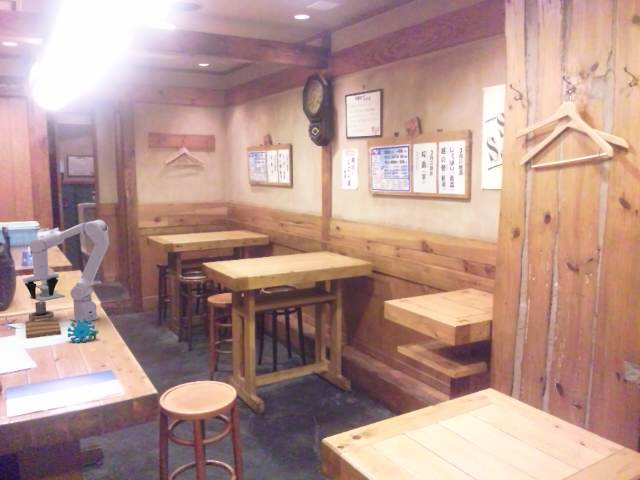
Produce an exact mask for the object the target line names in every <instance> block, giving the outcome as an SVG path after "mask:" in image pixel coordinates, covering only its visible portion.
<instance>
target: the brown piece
mask: <svg viewBox="0 0 640 480" xmlns="http://www.w3.org/2000/svg"><path fill="white" fill-rule="evenodd" d="M54 314H55V313H54V311H51V310H46V315H45V316H36V311H35V312H31V313H29V314H28V320H27V321H25V335H26V337H25V338H26V339H30V338H31V339H32V338H33V339H34V338H40V336H41V337H47V336H46V335H49V336H55V335H54V334H56V335H61V334H62V330H61V326H60V323H59V322H60V321H59V319H58V317H54Z"/></svg>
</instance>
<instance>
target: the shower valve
mask: <svg viewBox="0 0 640 480" xmlns="http://www.w3.org/2000/svg"><path fill="white" fill-rule="evenodd" d="M37 288H38V289H40V291H41V294H36V299H34V300H36V301H38V302H42V301H44V302H46V301H51V300H54V299H55V300H56V299H61V298H64V297H66V295H65V294H62V293H61V294H60V293H57V292H54V293H53V296H51V295H49V289H48V286H42V285H39V284H38V285H36V289H37ZM29 299H32V298H31V295H30V296H29Z"/></svg>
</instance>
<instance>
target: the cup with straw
mask: <svg viewBox="0 0 640 480" xmlns="http://www.w3.org/2000/svg"><path fill="white" fill-rule="evenodd" d="M48 272H49V274H55V273H56V272H55V271H54V270H53V268H51V267H50V266H48ZM40 284H41V285H42V286H48V283H47V280H42V281H40Z"/></svg>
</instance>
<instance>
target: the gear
mask: <svg viewBox="0 0 640 480" xmlns="http://www.w3.org/2000/svg"><path fill="white" fill-rule="evenodd" d="M71 327H72V328H73V329H72V328H71ZM91 328H92V329H91ZM93 329H94V330H93ZM95 329H96V325H95V324H93V322H92V321H88V322H87V320H86V319H83V322H82V323H81V322H80V320H77V321H76V325H75V322H71V323H70V327H68V329H67V332H68V333H67V337H68V338H70V341H71V342H74V341H75V343H77V342H78V343H77V344H80V343H81V340H82V343H87V342H88V341H87V337H88V339H89V340H91V339H93V338H94V337H96V338H97V334H99V330H98V329H96V330H95ZM70 332H71V333H70ZM86 341H87V342H86ZM79 342H80V343H79Z"/></svg>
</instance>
